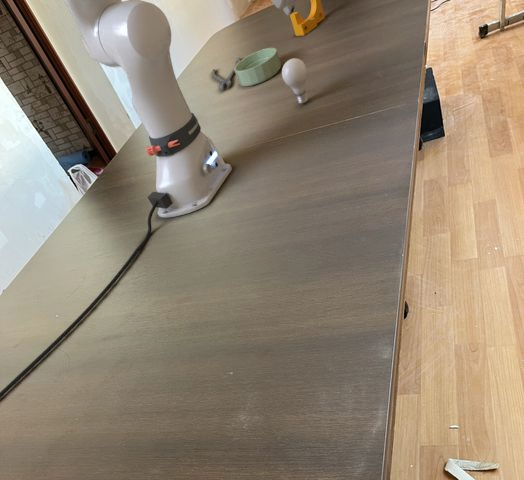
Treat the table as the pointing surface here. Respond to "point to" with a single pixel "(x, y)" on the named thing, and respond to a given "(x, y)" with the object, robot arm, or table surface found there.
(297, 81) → the lightbulb
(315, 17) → the pipe clamp
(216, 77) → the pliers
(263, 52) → the bowl
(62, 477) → the table surface
